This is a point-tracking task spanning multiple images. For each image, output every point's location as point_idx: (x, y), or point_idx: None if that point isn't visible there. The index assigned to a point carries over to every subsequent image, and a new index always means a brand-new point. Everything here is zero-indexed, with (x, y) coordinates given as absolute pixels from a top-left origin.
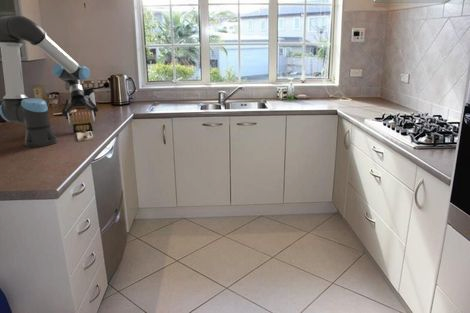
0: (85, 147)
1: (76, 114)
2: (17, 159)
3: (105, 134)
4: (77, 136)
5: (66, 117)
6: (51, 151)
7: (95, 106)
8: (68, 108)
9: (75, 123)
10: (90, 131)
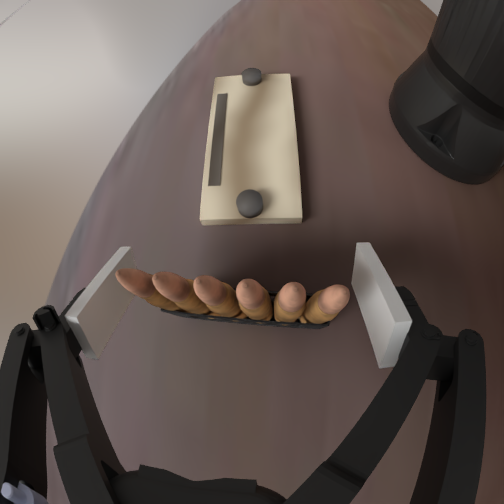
0: (262, 19)
1: (286, 284)
2: (429, 24)
3: (142, 153)
4: (293, 116)
5: (404, 292)
6: (367, 27)
7: (10, 356)
8: (412, 393)
9: (306, 303)
10: (205, 209)
